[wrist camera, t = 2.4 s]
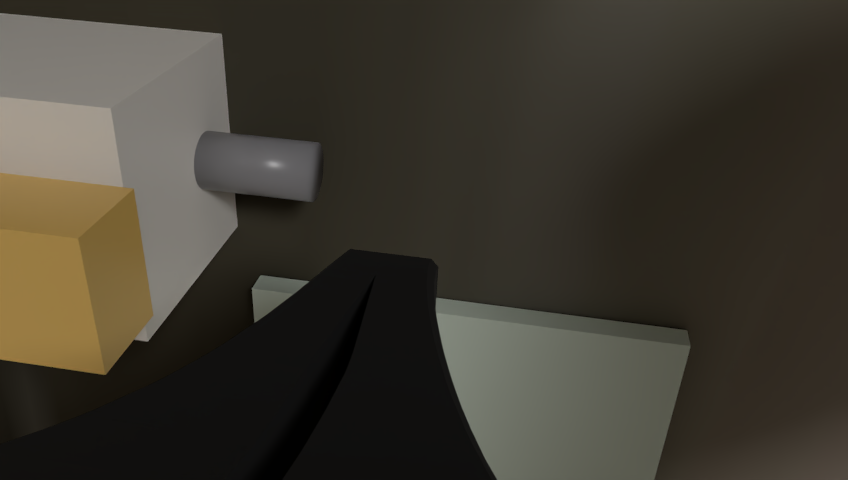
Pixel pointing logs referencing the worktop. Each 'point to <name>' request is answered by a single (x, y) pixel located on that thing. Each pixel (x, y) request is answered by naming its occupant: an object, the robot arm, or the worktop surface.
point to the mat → (552, 386)
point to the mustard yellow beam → (70, 273)
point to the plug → (142, 135)
